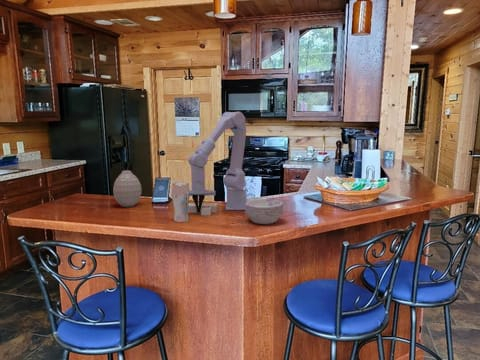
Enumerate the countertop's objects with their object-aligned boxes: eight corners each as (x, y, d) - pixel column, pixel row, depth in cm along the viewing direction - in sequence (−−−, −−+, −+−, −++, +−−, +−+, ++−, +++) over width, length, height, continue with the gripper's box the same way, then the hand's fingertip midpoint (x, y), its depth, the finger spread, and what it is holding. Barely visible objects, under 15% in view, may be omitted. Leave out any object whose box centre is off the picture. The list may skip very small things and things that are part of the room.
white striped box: (217, 209, 169) (217, 202, 169) (216, 212, 163) (216, 205, 163) (188, 209, 169) (188, 202, 169) (186, 212, 163) (186, 205, 163)
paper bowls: (237, 221, 150) (237, 202, 148) (262, 214, 160) (262, 196, 159) (265, 229, 139) (266, 208, 138) (290, 221, 149) (291, 202, 148)
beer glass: (182, 216, 156) (181, 181, 154) (193, 219, 152) (192, 183, 149) (169, 220, 151) (168, 184, 148) (180, 223, 146) (179, 185, 144)
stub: (211, 212, 163) (211, 205, 163) (210, 215, 158) (210, 208, 158) (202, 212, 163) (202, 205, 162) (201, 215, 158) (201, 208, 158)
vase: (143, 207, 174) (142, 172, 171) (114, 209, 169) (113, 173, 166) (140, 201, 185) (138, 168, 183) (113, 203, 181) (111, 169, 178)
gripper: (214, 179, 163) (214, 209, 165) (181, 180, 161) (182, 210, 163) (215, 181, 156) (215, 213, 158) (180, 182, 154) (181, 214, 156)
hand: (198, 212), depth 160 cm, fingers closed
